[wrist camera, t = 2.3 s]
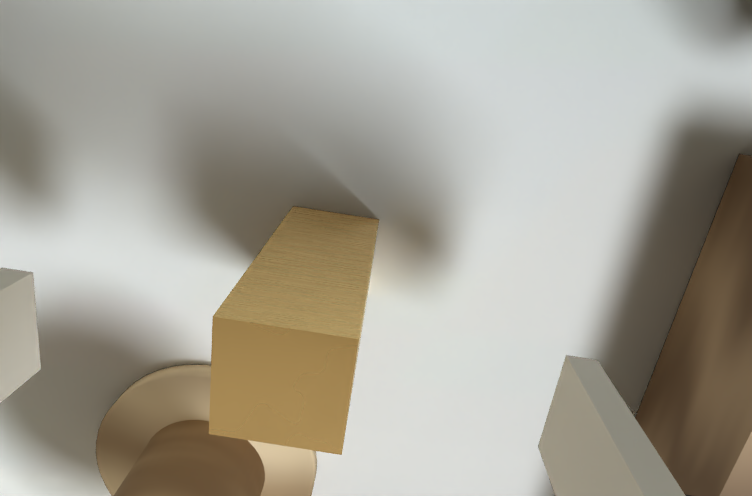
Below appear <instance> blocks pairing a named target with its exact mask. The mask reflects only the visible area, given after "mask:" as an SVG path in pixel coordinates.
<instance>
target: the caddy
mask: <svg viewBox="0 0 752 496" xmlns="http://www.w3.org/2000/svg"><path fill="white" fill-rule="evenodd" d="M635 419H636V420H637V422H638V423H639V425H640V426H641V428H642V429H643V431H644V432H645V434H646V436H647V437H648V439H649V440H650V442H651V443H652V445H653V446H654V448H655V449H656V451H657V452H658V454H659V456H660V457H661V459H662V460H663V462H664V463H665V465H666V466H667V468H668V469H669V471H670V472H671V474H672V476H673V477H674V479H675V480H676V482H677V483H678V485H679V486H680V488H681V489H682V491H683V492H684V494H686V495H692V496H752V156H750V155H743V154H739V156H738V159H737V161H736V164H735V167H734V169H733V172H732V174H731V177H730V179H729V182H728V184H727V187H726V189H725V192H724V194H723V197H722V199H721V202H720V205H719V207H718V210H717V212H716V215H715V217H714V220H713V222H712V225H711V227H710V230H709V232H708V235H707V237H706V240H705V243H704V245H703V248H702V250H701V253H700V255H699V258H698V260H697V263H696V265H695V268H694V270H693V273H692V275H691V278H690V281H689V283H688V286H687V288H686V291H685V293H684V296H683V298H682V301H681V303H680V306H679V308H678V311H677V313H676V316H675V319H674V321H673V324H672V326H671V329H670V331H669V334H668V336H667V339H666V341H665V344H664V346H663V349H662V351H661V354H660V357H659V359H658V362H657V364H656V367H655V369H654V372H653V374H652V377H651V379H650V382H649V384H648V387H647V389H646V392H645V395H644V397H643V400H642V402H641V405H640V407H639V410H638V412H637V415H636V417H635Z"/></svg>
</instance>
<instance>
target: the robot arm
mask: <svg viewBox="0 0 752 496" xmlns="http://www.w3.org/2000/svg"><path fill="white" fill-rule="evenodd" d="M39 370H41V363H40V351H39V339H38V327H37V315H36V303H35V291H34V279H33V272H27V271H20V270H14V269H7V268H0V403H1V402H2V401H4V400H5V399H6V398H7V397H8V396H10V395H11V394H12V393H13V392H14V391H16V390H17V389H18V388H19V387H20V386H21V385H23V384H24V383H25V382H26V381H27V380H29V379H30V378H31V377H32V376H33V375H35V374H36V373H37V372H38V371H39ZM538 448H539V450H540V453H541V456H542V459H543V462H544V465H545V468H546V471H547V473H548V476H549V479H550V482H551V485H552V488H553V491H554V494H555V496H692V495H686V494H684V492H683V491H682V489H681V488H680V486H679V485H678V483H677V482H676V480H675V479H674V477H673V476H672V474H671V472H670V471H669V469H668V468H667V466H666V465H665V463H664V462H663V460H662V459H661V457H660V456H659V454H658V452H657V451H656V449H655V448H654V446H653V445H652V443H651V442H650V440H649V439H648V437H647V436H646V434H645V432H644V431H643V429H642V428H641V426H640V425H639V423H638V422H637V420H636V419H635V417H634V416H633V414H632V413H631V411H630V409H629V408H628V406H627V405H626V403H625V402H624V400H623V399H622V397H621V396H620V394H619V393H618V391H617V389H616V388H615V386H614V385H613V383H612V382H611V380H610V379H609V377H608V376H607V374H606V373H605V371H604V369H603V368H602V366H601V365H600V363H599V362H598V360H594V359H587V358H581V357H575V356H568V355H566V358H565V361H564V364H563V367H562V370H561V374H560V377H559V380H558V383H557V387H556V390H555V393H554V396H553V400H552V403H551V406H550V409H549V413H548V416H547V419H546V422H545V426H544V429H543V432H542V435H541V439H540V442H539V445H538Z"/></svg>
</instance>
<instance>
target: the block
mask: <svg viewBox="0 0 752 496" xmlns="http://www.w3.org/2000/svg"><path fill="white" fill-rule="evenodd" d="M378 223H379V219H373V218H367V217H360V216H354V215H347V214H341V213H334V212H328V211H321V210H315V209H308V208H302V207H295V206H293V207H292V209H291V210H290V211H289V213H288V214H287V215H286V217H285V218H284V220H283V221H282V222H281V224H280V225H279V226H278V228H277V229H276V231H275V232H274V233H273V235H272V236H271V237H270V239H269V240H268V241H267V243H266V244H265V246H264V247H263V248H262V250H261V251H260V252H259V254H258V255H257V257H256V258H255V259H254V261H253V262H252V263H251V265H250V266H249V268H248V269H247V270H246V272H245V273H244V274H243V276H242V277H241V279H240V280H239V281H238V283H237V284H236V285H235V287H234V288H233V289H232V291H231V292H230V294H229V295H228V296H227V298H226V299H225V300H224V302H223V303H222V305H221V306H220V307H219V309H218V310H217V311H216V313H215V314H214V316H213V326H212V354H211V383H210V412H209V434H211V435H217V436H224V437H230V438H237V439H243V440H250V441H256V442H262V443H269V444H275V445H282V446H288V447H295V448H301V449H308V450H314V451H320V452H327V453H333V454H340V455H342V449H343V443H344V437H345V430H346V424H347V418H348V412H349V406H350V400H351V393H352V387H353V381H354V375H355V369H356V363H357V356H358V350H359V344H360V338H361V332H362V326H363V319H364V313H365V307H366V301H367V295H368V288H369V282H370V275H371V269H372V262H373V256H374V249H375V242H376V236H377V229H378Z"/></svg>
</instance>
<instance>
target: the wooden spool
mask: <svg viewBox="0 0 752 496" xmlns="http://www.w3.org/2000/svg"><path fill="white" fill-rule="evenodd" d="M210 383H211V366H208V365H182V366H174V367H169V368H165V369H162V370H158V371H156V372H153V373H151V374H148V375H146V376H144V377H143V378H141V379H139V380H138V381H136V382H135V383H133V384H132V385H131V386H130V387H129V388H127V389H126V390H125V392H124V393H123V394H122V395H121V396H120V397H119V398H118V400H117V401H116V402H115V403H114V404H113V406H112V407H111V408H110V409H109V410H108V412H107V414H106V415H105V417H104V419H103V420H102V423H101V425H100V428H99V430H98V435H97V440H96V457H97V464H98V467H99V471H100V474H101V477H102V479H103V481H104V483H105V485H106V487H107V489H108V490H109V492H110V494H111V495H112V496H311V495H312V490H313V485H314V481H315V476H316V469H317V458H316V451H314V450H308V449H301V448H295V447H288V446H282V445H275V444H269V443H262V442H256V441H250V440H243V439H237V438H230V437H224V436H217V435H211V434H209V412H210Z"/></svg>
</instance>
